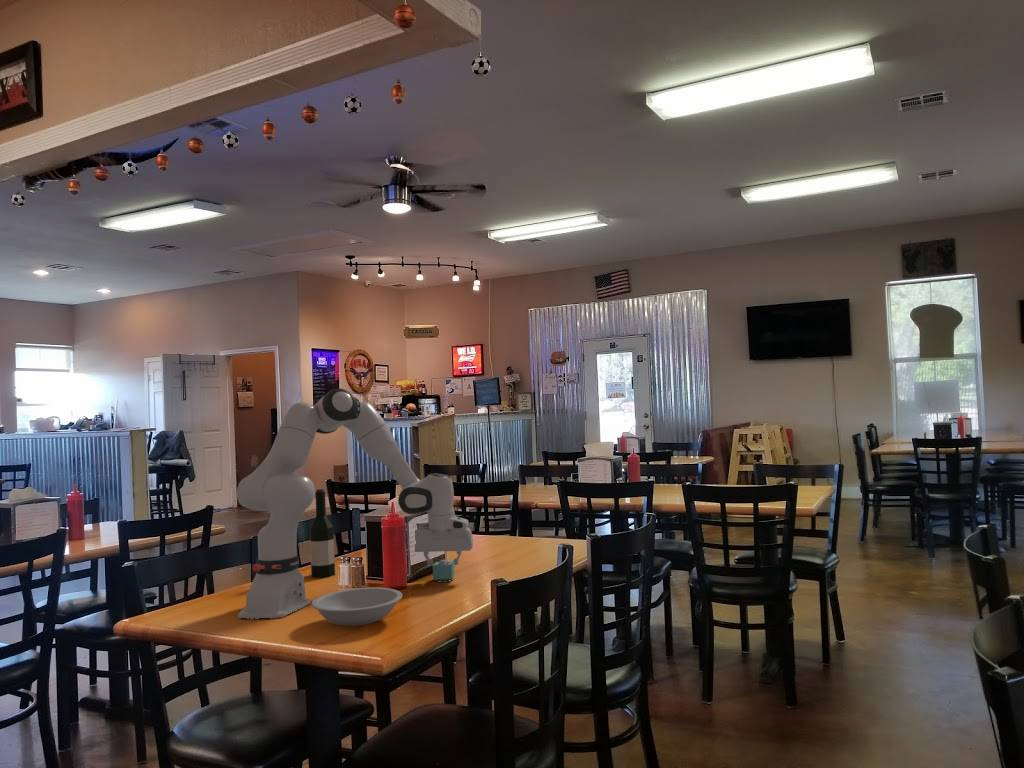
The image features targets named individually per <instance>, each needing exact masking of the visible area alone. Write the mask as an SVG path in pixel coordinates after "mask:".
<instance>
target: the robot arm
mask: <svg viewBox="0 0 1024 768" xmlns="http://www.w3.org/2000/svg"><path fill="white" fill-rule="evenodd" d="M342 426H343V427H344V428H346V429H347V430H349V431H350V433H351V434H352V435H353V437H354V438H355V439H356V441H357V443H358V445H359V446H360V447H361V449H362V450H363V451H364V453H365V454H366V455H368V456H369V458H371V459H373V460H376V461H377V462H380V463H382V464H383V465H384V466H386V467H387V468H388V470H389V471H390V472H391V474H392V475H393V477H394V478H395V479H396V481H397V482H398V485H400V486H399V487H401V489H402V490H401V492H400V493H399V495H398V497H397V498H398V500H397V501H398V502H397V503H398V505H399V507H400V509H401V511H402V512H404V513H406V514H409V515H417V514H420V513H424V512H427V522H422V523H420V522H419V523H417V522H416V523H417V524H416V523H415V524H416V525H417V530H415V540H416V544H415V552H414V553H423V556H424V558H425V560H426V561H427V566H433V565H434V562H433V560H434V559H433V558H430V556H429V554H430V553H431V552H456V555H457V557H456V558H454V559H453V561H454V566H455V565H456V566H457V565H459V564H460V562H459V561H460V558H461V556H462V553H463V552H469V551H471V550H472V549H473V548H474V538H473V532H472V530H471V528H470V527H468V526H469V525H470V523H469V520H468V519H466V518H463V517H460V516H457V515H456V513H455V509H454V501H455V495H454V494H455V490H454V484H453V480H452V478H451V477H450V476H449V475H447V474H444V473H437V472H436V473H435V472H434V473H433V472H432V473H429V474H427V476H425V477H424V478H422V479H421V478H420V477H418V475H417V474H416V473H415V471H414V470H413V469H412V467H411V465H410V464H409V463H408V462H407V460H406V459H405V457H404V455H403V454H402V452H401V450H400V448H399V446H398V443H397V441H396V439H395V437H394V435H393V433H392V431H391V429H390V427H389V426H388V424H387V422H386V421H385V419H384V418H383V417H382V416H381V415H380V413H379V411H377V410H376V408H375V407H374V406H373V405H372V404H371V403H370V402H367V401H360V400H359V399H358V398H356V397H355V396H354V395H353V394H352V393H351V391H349V390H346V389H344V388H334V389H331V390H330V391H328V392H326V394H325V395H324V396H323V397H321V398H320V399H319V400H318V401H316V402H315V403H314V404H310V403H307V402H296V403H294V404H292V405H291V406H290V408H289V409H288V411H287V412H286V414H285V416H284V418H283V419H282V422H281V424H280V426H279V429H278V431H277V434H276V436H275V439H274V441H273V444H272V447H271V448H270V450H269V452H268V453H267V455H266V457H265V458H264V460H263V461H262V462H261V464H260V465H258V467H257V468H256V469H255V470H253V472H251V473H250V474H249V475H247V476H246V477H244V478H242V479H241V480H240V482H239V483H238V486H237V489H236V499H237V501H238V503H239V504H240V506H241V507H244V508H246V509H249V510H252V511H261V512H262V511H264V512H266V511H267V512H270V517H269V521H268V522H267V524H265V526H263V527H261V528H260V529H259V531H258V534H257V552H258V553H257V554H258V556H257V557H258V558H257V559H256V563H254V564H253V565H252V570H253V571H252V572H255V576H254V578H253V580H252V582H251V584H250V587H249V589H248V590H247V593H246V597H245V604H246V605H244V607H243V608H242V609H241V610H240V611H239V612H238V613H237V617H239V618H238V619H241V618H247V619H246V620H260V619H259V618H270V619H278V617H279V618H285V617H286V615H287V616H288V614H289V615H291V614H293V613H295V612H297V611H299V610H301V609H303V608H305V607H306V606H308V605H311V600H310V599H307V597H306V596H307V595H306V586H305V578H304V575H303V574H302V573H301V572H300V570H299V567H300V559H299V555H298V549H297V548H298V547H297V546H298V544H297V543H298V542H297V541H298V540H297V539H298V538H297V537H298V535H297V534H298V527H299V523H300V520H301V517H302V515H303V514H304V513H305V511H306V510H307V509H308V508H309V507H310V506H311V504H312V503H313V501H314V500H315V498H316V495H315V492H316V489H315V485H314V482H313V480H311V478H309V477H308V476H304V475H301V474H296V473H294V472H295V471H297V470H298V469H300V468H301V467H303V466H304V465H305V464H306V462H307V460H308V457H309V455H310V451H311V448H312V445H313V443H314V440H315V437H316V434H317V433H318V434H321V435H322V434H323V435H324V434H325V435H327V434H331V433H334V432H336V431H337V430H338V429H339V428H341V427H342ZM298 609H299V610H298ZM294 611H295V612H294ZM292 612H293V613H292ZM290 613H291V614H290ZM249 618H250V619H249ZM254 618H255V619H254Z"/></svg>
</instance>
